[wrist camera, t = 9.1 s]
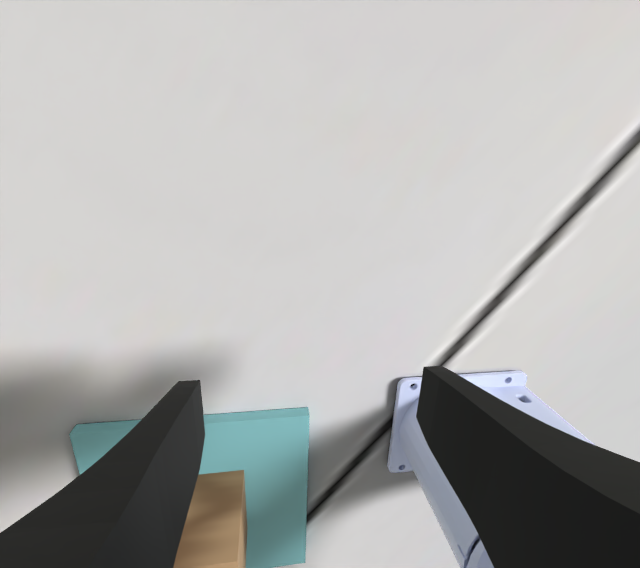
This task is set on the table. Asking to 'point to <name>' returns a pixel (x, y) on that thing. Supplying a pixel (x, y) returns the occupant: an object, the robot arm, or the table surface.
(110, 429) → the teal board
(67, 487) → the robot arm
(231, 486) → the walnut cube
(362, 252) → the table surface
